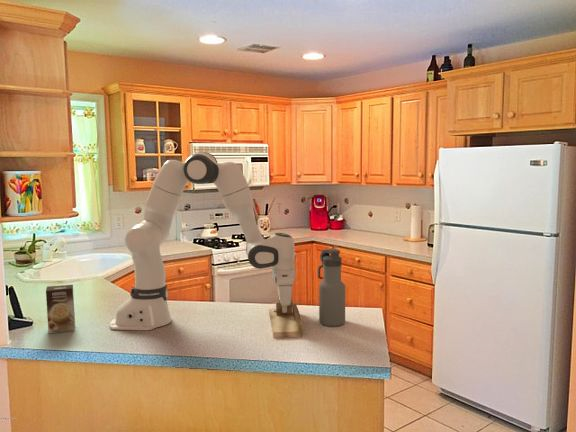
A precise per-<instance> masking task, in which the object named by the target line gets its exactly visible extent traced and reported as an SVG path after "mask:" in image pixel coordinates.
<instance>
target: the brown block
mask: <svg viewBox="0 0 576 432" xmlns="http://www.w3.org/2000/svg"><path fill="white" fill-rule="evenodd" d="M292 302H293V301H292V299H291V304H290V305H289V306H287V312H286V313H283V312H282V305H281V303H280V299H276V300H275V309H276V311H273V312H276V315H277V316H280V315H292Z"/></svg>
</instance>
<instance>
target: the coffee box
mask: <svg viewBox="0 0 576 432" xmlns="http://www.w3.org/2000/svg"><path fill="white" fill-rule="evenodd" d="M45 295H46V296H45V297H46V314H47V315H46V316H47V334H58V333H64V332H74V331H76V316H75V315H76V314H75V313H76V312H75V302H74V301H75V299H74V298H75V297H74V284H64V285H51V286H46V288H45Z"/></svg>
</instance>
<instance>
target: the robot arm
mask: <svg viewBox="0 0 576 432" xmlns="http://www.w3.org/2000/svg"><path fill="white" fill-rule="evenodd" d="M244 175H245V174H244V173H243V172H242V170H241V168H240V166H239V165H238V164H237V163H235V162H233V161H226V162H223V163H218V161H217V159H216V157H215V156H214V155H213V154H212V153H209V152H206V151H205V152H204V151H201V152H195V153H193V154H192V155H190V156H189V157H187V158H186V160H185V161H181V160H178V159H168V160H166V161H165V162H164V163H163V165H162V166H161V168H160V169H159V171H158V173H157V175H156V177H155V178H154V181H153V184H152V186H151V188H150V191H149V193H148V196H147V198H146V199H145V210H144V215H143V218H142V220H141V222H140V223H138V224H134V225H133V226H132V227H131V228H129V230H128V232H127V233H126V235H125V238H124V242H125V246H126V248H127V249H128V250H129V253H130V256H131V260H132V263H133V268H134V282H135V284H133V285H132V286H131V287H130V289H129V290H130V291H129V294H130V297H129V298H127V299H126V300H125V301H123V302H122V303H121V305H119V306H118V308H117V310H116V314H115V318H112V320H111V321H110V322H109V329H110V330H112V331H113V330H114V331H115V330H121V331H123V330H124V331H151V330H153V329H156V328H159V327H163V326H165V325H168V324H170V323H171V322H172V317H171V315H170V314H171V313H170V310H169V304H168V297H169V296H168V294H169V293H168V286H167V284H166V266H165V263H164V261H163V259H162V255H161V251H160V247H161V246H162V245H164V243H166V241H167V239H168V237H169V234H170V229H171V226H172V222H173V218H174V216H175V212H176V210H177V207H178V205H179V202H180V200H181V197H182V195H183V193H184V191H185V188H186V186H187V185H188V183H189V182H190V183H192V184H195V185H205V184H206V185H208V184H213V185H215V187H216V189H217V192H218V193H219V196H220V199H221V200H222V202H223V205H224V206H225V208H226V209H227V211H228V213H229V214H231V215H232V216H233V217H234V218H235V219H236V221H237V222H238V224H239V226H240V229H241V230H242V233H243V235H244V238H245V241H246V248H245V252H246V256H247V260H248V263H249V264H250V265H251V266H252V267H253V268H255V269H261V270H262V269H266V268H267V269H268V268H271V280H272V281H273V282H275V285H276V286H277V294H278V299H279V300H280V303H281V305H282V312H283V313H286V312H287V306H289V305H290V304H291V300H292V299H293V298H292V295H293V285H295V280H296V265H295V259H296V253H295V252H296V249H295V248H296V246H295V241H294V240H295V239H294V238H293V237H292V236H291V235H290V234H289V233H285V232H274V233H273V234H272V235H270V236H269V237H268V238H265V237H264V236H263V235H262V233H261V231H260V229H259V226H258V223H257V221H256V219H255V215H254V201H253V200H254V199H253V194H252V192H251V188H250V185H249V184H248V182H247V179H246V177H245V176H244Z"/></svg>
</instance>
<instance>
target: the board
mask: <svg viewBox="0 0 576 432" xmlns="http://www.w3.org/2000/svg"><path fill="white" fill-rule="evenodd" d="M273 311H276V308H268V312H269V313H268V315H269V316H268V317H269V321H270V325H271V326H270V328H271V332H272V338H273V339H275V338H276V339H279V338H281V339H282V338H302V337H303V336H302V335H303V332H304V322H303V320H302V316H301V313H300V311H299V308H298V306H297V302H295V301H294V302H293V301H292V315H280V316H277V315H276V312H273Z"/></svg>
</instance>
